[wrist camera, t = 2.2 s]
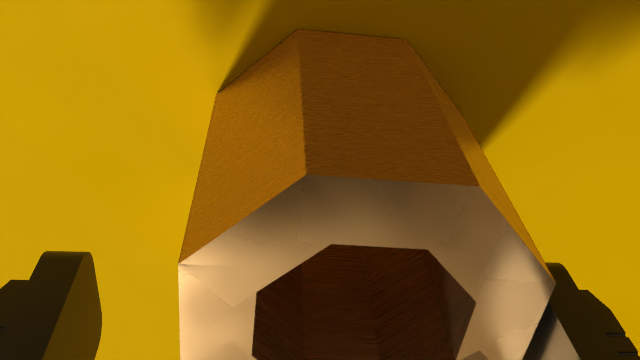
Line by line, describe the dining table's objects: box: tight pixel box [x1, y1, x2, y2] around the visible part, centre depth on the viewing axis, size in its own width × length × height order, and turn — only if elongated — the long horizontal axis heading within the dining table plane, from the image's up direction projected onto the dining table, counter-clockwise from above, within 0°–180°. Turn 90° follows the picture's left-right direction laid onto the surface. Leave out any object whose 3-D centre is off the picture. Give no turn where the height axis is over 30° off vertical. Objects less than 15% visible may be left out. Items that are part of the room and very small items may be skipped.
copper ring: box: [178, 29, 556, 360], centre depth 12 cm, size 6×6×6 cm
